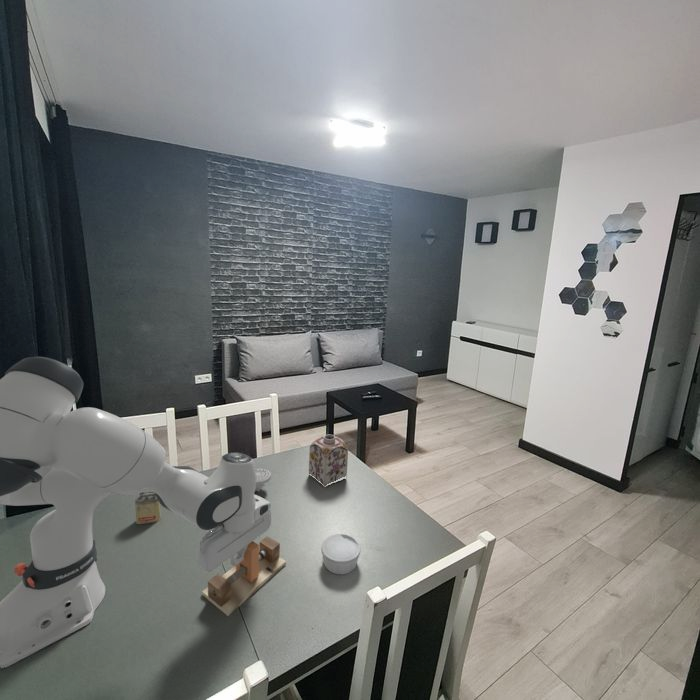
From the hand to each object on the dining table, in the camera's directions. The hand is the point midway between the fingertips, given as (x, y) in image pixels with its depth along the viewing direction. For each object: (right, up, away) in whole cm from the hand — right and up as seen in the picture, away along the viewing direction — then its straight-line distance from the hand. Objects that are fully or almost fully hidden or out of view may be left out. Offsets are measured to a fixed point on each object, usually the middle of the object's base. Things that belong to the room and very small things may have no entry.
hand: (237, 562), depth 93 cm
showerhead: (-6, +1, +44) cm, 44 cm away
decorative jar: (+20, +2, +56) cm, 59 cm away
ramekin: (+26, -7, +12) cm, 30 cm away
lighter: (-37, -1, +25) cm, 44 cm away
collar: (+1, -6, +4) cm, 7 cm away
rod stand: (+1, -7, +4) cm, 8 cm away
